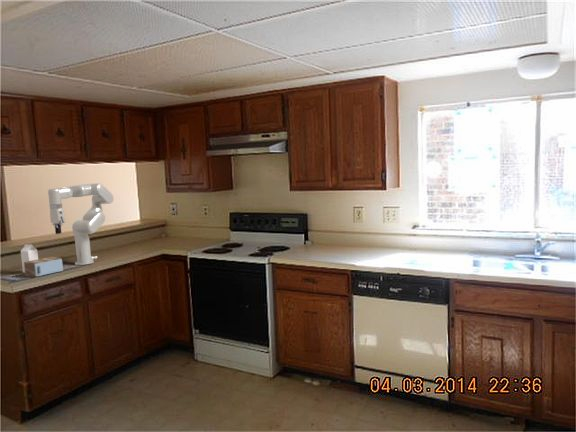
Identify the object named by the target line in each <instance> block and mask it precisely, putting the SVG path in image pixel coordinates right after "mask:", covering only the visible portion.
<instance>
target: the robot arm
mask: <svg viewBox="0 0 576 432" xmlns="http://www.w3.org/2000/svg"><path fill="white" fill-rule="evenodd" d="M47 192H48V193H47V194H48V203H49V211H50V212H49V218H50V219H49V220H50V223H51V224H52V225H53V226H54V231H55V234H56V235H58V234H59V235H60V234H62V226H63V225H64V224H65V222H66V221H65V220H66V218H65V213H64V209H63V202H62V199H63V200H64V199H65V200H66V199H70V198H81V197H88V196H92V197H91V208H89V209H88V211H87V212H86V213H85V214H84V215H83V217H82V220H76V221H74V222H73V224H72V226H71V227H72V228H71V229H72V233H73V235H74V243H75V255H76V262H74V265H75V266H82V265H83V266H86V265H90V264H94V262H95V261H94V260H97V259H98V256H97V255H95V256H93V255H92V254H91V244H90V243H91V241H90V237H89V234H94V233H96V232H97V231H98V229H100V228H101V226H102V225H103V224H104V222H105V220H106V215H105V213H104V210H103V206H102V205H108V204H112V203H113V202H114V196H113V194H112V193H111V191H109V190H108V189H107V188H106V187H105V186H104V184H101V183H86V184H77V185H71V186H70V185H69V186H63V187H56V188H49V189H47Z"/></svg>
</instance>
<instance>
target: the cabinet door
mask: <svg viewBox="0 0 576 432" xmlns="http://www.w3.org/2000/svg"><path fill="white" fill-rule="evenodd" d="M63 265H64V264H63V259H62V258H61V259H57V260H52V261H47V262H42V263H37V264H34V267H35V276H38V277H41V275H42V276H45V274H47V275H51V274H55V273H54V272H56V273H60V272H63V271H64V266H63ZM59 271H60V272H59ZM50 273H51V274H50Z"/></svg>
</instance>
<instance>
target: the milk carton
mask: <svg viewBox="0 0 576 432" xmlns="http://www.w3.org/2000/svg"><path fill="white" fill-rule="evenodd" d="M20 259H21V268H22V273H23V274H25V268H24V262H27V261H32V260H37V259H39V254H38V249H37V248H36V247H34V245H33V244H26V243H25V244H24V246H23V247H22V249H21V250H20Z"/></svg>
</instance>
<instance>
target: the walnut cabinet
mask: <svg viewBox="0 0 576 432" xmlns="http://www.w3.org/2000/svg"><path fill="white" fill-rule="evenodd" d="M57 259H62V258H61V257H54V256H48V257H43V258H38V259H37V260H32V261H27V262H24V268H25V273H24V275H26V277H31V278H32V277H33V278H37V277H39V276H35V267H34V264H37V263H42V262H47V261H52V260H57ZM56 273H57V272H54V273H53V274H56ZM58 273H61V271H59V272H58ZM51 274H52V273H50V274H49V275H51ZM45 275H46V276H47V275H48V274H45ZM45 275H44V276H45ZM41 276H43V275H41ZM41 276H40V277H41Z"/></svg>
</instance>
